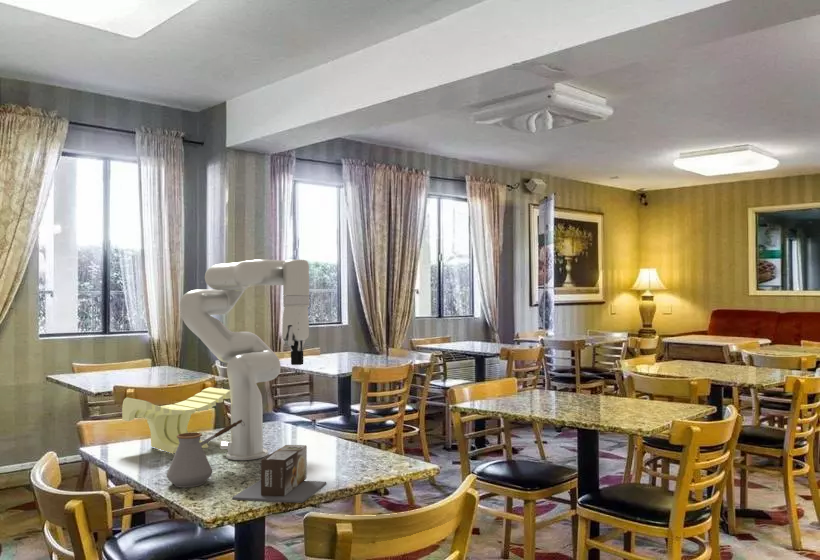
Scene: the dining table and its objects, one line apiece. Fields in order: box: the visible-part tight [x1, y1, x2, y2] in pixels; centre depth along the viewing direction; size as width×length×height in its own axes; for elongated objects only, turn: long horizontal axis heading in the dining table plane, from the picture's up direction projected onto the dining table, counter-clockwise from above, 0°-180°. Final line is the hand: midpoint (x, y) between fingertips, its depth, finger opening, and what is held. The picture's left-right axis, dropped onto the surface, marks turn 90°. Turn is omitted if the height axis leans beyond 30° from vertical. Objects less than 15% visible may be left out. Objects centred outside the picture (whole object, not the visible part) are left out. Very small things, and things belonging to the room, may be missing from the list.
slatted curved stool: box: [121, 386, 231, 455], centre depth 228 cm, size 30×16×18 cm, turn 138°
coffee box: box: [260, 444, 308, 496], centre depth 175 cm, size 9×6×16 cm
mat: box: [231, 479, 327, 504], centre depth 173 cm, size 18×17×1 cm
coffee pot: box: [166, 420, 245, 488], centre depth 185 cm, size 21×12×15 cm, turn 129°
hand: (297, 364), depth 201 cm, fingers closed
